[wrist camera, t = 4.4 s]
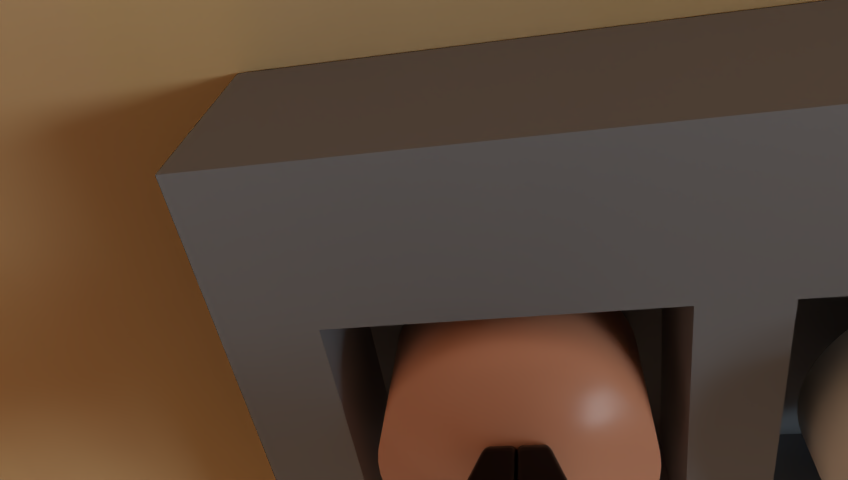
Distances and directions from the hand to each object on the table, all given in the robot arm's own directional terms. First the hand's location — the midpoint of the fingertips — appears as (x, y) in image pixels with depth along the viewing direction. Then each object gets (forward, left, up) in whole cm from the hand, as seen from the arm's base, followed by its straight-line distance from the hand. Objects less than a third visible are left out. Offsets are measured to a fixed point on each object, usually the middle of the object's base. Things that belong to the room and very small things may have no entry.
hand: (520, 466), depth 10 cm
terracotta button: (0, 0, -2) cm, 2 cm away
